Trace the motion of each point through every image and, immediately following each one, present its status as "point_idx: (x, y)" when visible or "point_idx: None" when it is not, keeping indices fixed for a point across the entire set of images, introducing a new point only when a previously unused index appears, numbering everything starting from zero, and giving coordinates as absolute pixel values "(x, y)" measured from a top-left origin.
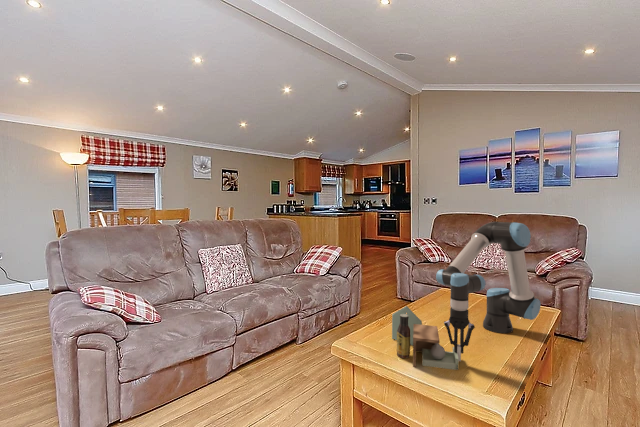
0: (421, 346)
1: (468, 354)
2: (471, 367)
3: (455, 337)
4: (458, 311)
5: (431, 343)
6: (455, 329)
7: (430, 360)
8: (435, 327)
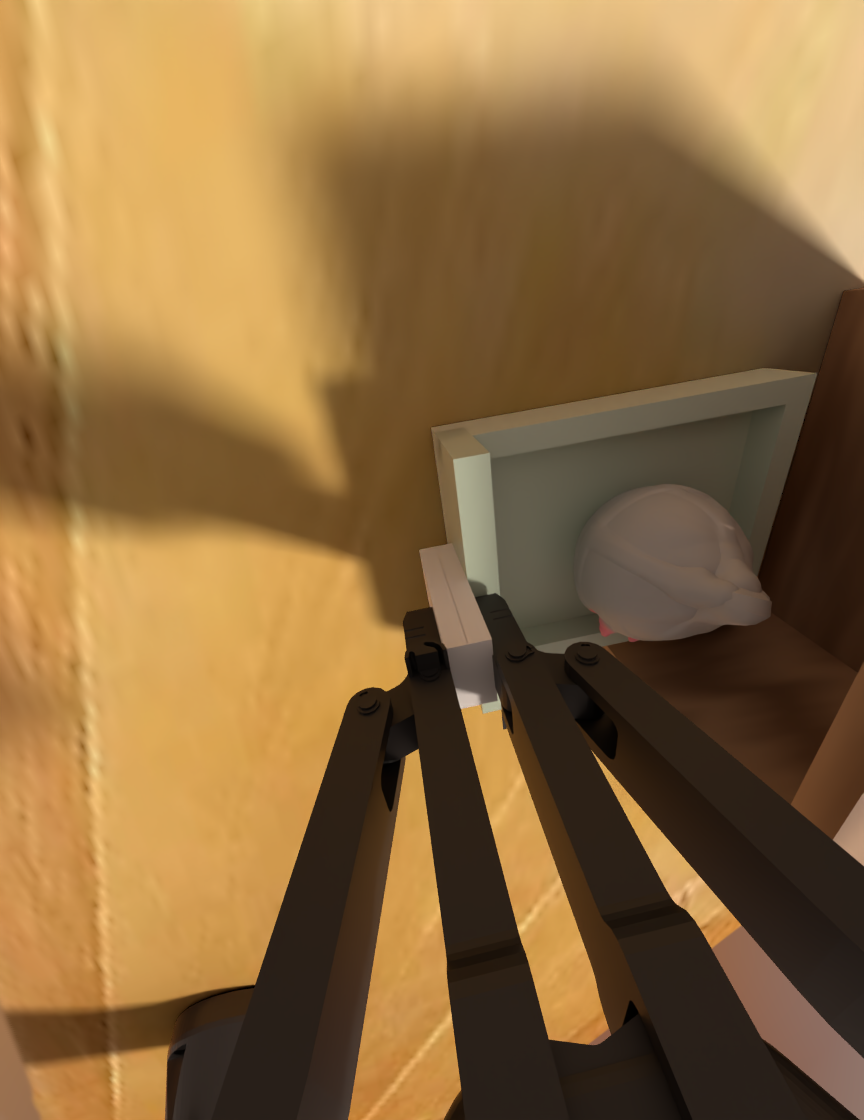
0: (749, 639)
1: None
2: (320, 540)
3: (576, 754)
4: None
5: (694, 684)
6: (709, 979)
7: (730, 402)
8: None
